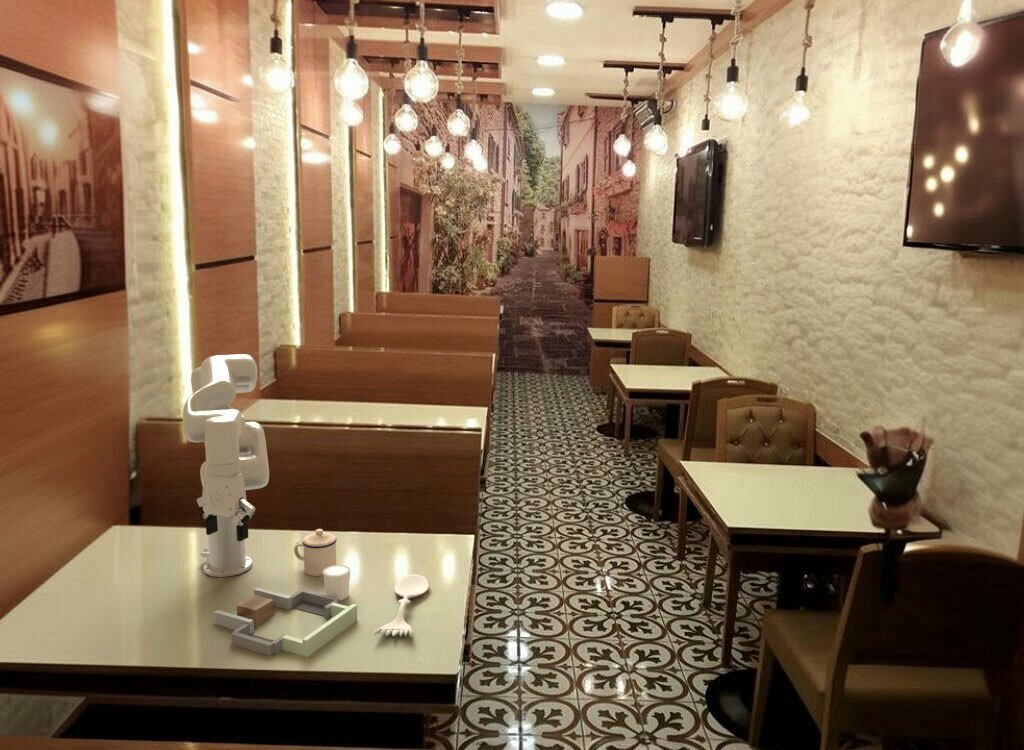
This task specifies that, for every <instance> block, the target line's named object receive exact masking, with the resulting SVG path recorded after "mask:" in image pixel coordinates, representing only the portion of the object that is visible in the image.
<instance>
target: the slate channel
mask: <svg viewBox="0 0 1024 750" xmlns="http://www.w3.org/2000/svg"><path fill="white" fill-rule="evenodd" d="M253 595H257V596H261V597H265V598H268V599H272V600H273V601H274V607H276V608H282V609H286V610H291V609H293V608H292V596H291V595H288V594H284V593H279V592H276V591H272V590H269V589H264V588H260V587H256V588H254V589H253ZM330 612H331V616H330V617H331V618H330V619H329V620H328V621H326V622H325V623H323V624H322V625H320V626H319V627H317V628H316V629H315V630H314V631H312V632H310V633H309V634H308V635H306V636H304V637H303V638H302V639H301V638H297V637H294V636H290V635H288V634H285V636H283V637H282V650H281V651H286V652H289V653H293V654H296V655H299V656H301V657H306V658H308V657H309V656H311V655H313V654H314V653H315V652H316V651H318V650H319V649H321V648H323V646H324V645H326V644H328V643H329V642H330V641H332V640H333V639H334V638H335V637H337V636H338V635H340V634H341V633H342V632H343V631H345V630H346V629H348V628H349V627H350V626H351V625H352V624H355V623H356V622H357V621H358V605H357V604H356V603H355V604H354V603H352V604H350V605H349V606H348V605H344V604H337V603H332V604H330ZM213 618H214V620H213V621H214V625H218V626H222V627H225V628H228V629H231V630H233V631H234V630H235V629H237V628H239V627H240V626H242V625H244V624H245V623H247V624H250V634H254V631H255V629H254V628H255V627H254V626H255V625H254V624H253V620H252V619H248V618H245V617H241V616H238V615H237V614H234V613H230V612H227V611H223V610H219V609H217V610H215V611H214V612H213Z"/></svg>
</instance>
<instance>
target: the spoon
mask: <svg viewBox="0 0 1024 750" xmlns="http://www.w3.org/2000/svg"><path fill="white" fill-rule="evenodd" d="M429 588H430V581H429V579H427V577H425V576H424V575H421V574H417V573H416V574H415V573H414V574H413V573H411V574H408V575H405V576H402V577H401V578H399V579H398V580H397V581H396V582H395V584H394V587H393V590H394V593H395V594H396V595H398V596H400V597H402V598H401V599H399V600H398V601H397V603H398V604H399V605H400V606H399V608H398V611H397V614H396V617H395V618H394V620H392V621H391V622H389V623H386V624H384V625H383V626H381V627H379V628H376V629H375V630H374V636H377V635H378V634H380V636H383V635H385V636H386V637H387V636H390V635H391V636H392V637H396V636H398V635H399V636H400V637H402V636H403V635H404V636H405V637H407V635H409V637H412V636H413V631H414V630H413V627H412V626H411V625H410V624H409V623H407V622H406V621H405V608H406V606H408V605H410V603H411V602H412V601H411V600H410V599H411V598H416V597H419V596H423V594H425V593H426V592H427V591H428V590H429Z"/></svg>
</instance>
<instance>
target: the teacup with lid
mask: <svg viewBox="0 0 1024 750" xmlns="http://www.w3.org/2000/svg"><path fill="white" fill-rule="evenodd" d="M302 539H303V540H302V542H299V543H297V544H295V546H294V547H293V552H294V554H295V557H296V558H297V559H298V560H299V561H301V562H303V571H304V572H305V574H306V575H309V576H313V577H323V570H324V569H325V568H327V567H330V566H333V565H337V544H336V542H337V537H336V535H334V533H333V534H332V533H330V532H325V531H324V530H323V529H322V528H317V529H315V532H313V533H311V534H307V535H306V536H304V538H302ZM299 547H303V548H302V549H303V556H302V555H301V554H300V552H299V550H298V548H299Z"/></svg>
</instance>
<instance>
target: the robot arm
mask: <svg viewBox="0 0 1024 750" xmlns="http://www.w3.org/2000/svg"><path fill="white" fill-rule="evenodd" d="M190 375H191V377H190V384H191V389H192V394H191V395H190V396H189V397H188V398H187V400H186V401H185V403H184V405H183V408H182V430H183V435H184V438H185V439H186V440H187V441H188V442H190V443H204V447H205V448H204V449H205V461H204V462H203V463H202V464H201V465H200V466H201V467H200V470H199V473H200V474H199V475H200V481H201V485H202V495H201V496H200V497H198V498H196V503H197V504H198V507H199V510H200V512H201V514H202V518H203V519H204V520H205V533H206V535H207V544H208V545H207V546H205V547H204V548H203V551H202V552H200V557H202V558H205V559H206V563H205V564H204V565H203V572H204V574H205V575H207V576H210V577H214V578H215V577H216V578H227V577H232V576H233V577H234V576H236V575H240V574H243V573H245V572H247V571H249V569H251V568H252V566H253V561H252V558H251V557H249V556H247V555H246V554H247V553H246V539H248V538H249V525H248V524H249V523H250V522H251V520H252V519H253V518H254V515H255V512H256V507H255V506H254V505H252V504H251V503H250V502H248V501H247V495H246V494H247V493H246V491H249V490H250V491H251V490H256V489H257V490H259V489H262V488H264V487H266V486H267V485H268V483H269V481H270V480H269V479H270V469H269V468H270V467H269V459H268V450H267V441H266V436H265V430H264V428H263V426H262V425H261V424H260V423H259V422H256V421H246V418H245V415H243V412H241V411H240V410H238V409H235V408H233V406H231V404H232V402H233V401H234V400H235V398H236V396H237V395H236V394H243V393H250V392H253V391H254V390H255V389H256V385H257V381H258V366H257V362H256V361H255V359H254V358H253V356H251V355H250V354H246V353H245V354H243V353H242V354H226V355H225V354H221V355H220V354H219V355H212V356H209V357H207V358H205V359H204V360H203V361H202V362H201V364H200V366H199V367H197V368H194V370H193V371H192V372H191V374H190Z"/></svg>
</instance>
